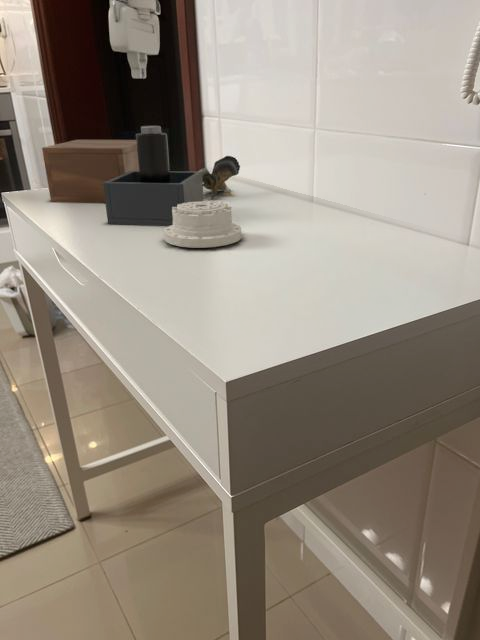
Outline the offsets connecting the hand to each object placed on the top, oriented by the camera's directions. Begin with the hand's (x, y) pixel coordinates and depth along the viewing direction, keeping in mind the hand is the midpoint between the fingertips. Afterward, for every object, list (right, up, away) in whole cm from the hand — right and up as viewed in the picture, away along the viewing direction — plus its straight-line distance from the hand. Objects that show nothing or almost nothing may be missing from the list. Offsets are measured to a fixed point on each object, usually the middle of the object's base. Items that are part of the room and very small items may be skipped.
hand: (139, 78), depth 116 cm
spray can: (+10, -35, -31) cm, 48 cm away
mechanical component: (+18, -42, -43) cm, 63 cm away
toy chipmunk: (+18, -29, -15) cm, 37 cm away
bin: (+10, -36, -30) cm, 48 cm away
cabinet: (-3, -28, -14) cm, 32 cm away
